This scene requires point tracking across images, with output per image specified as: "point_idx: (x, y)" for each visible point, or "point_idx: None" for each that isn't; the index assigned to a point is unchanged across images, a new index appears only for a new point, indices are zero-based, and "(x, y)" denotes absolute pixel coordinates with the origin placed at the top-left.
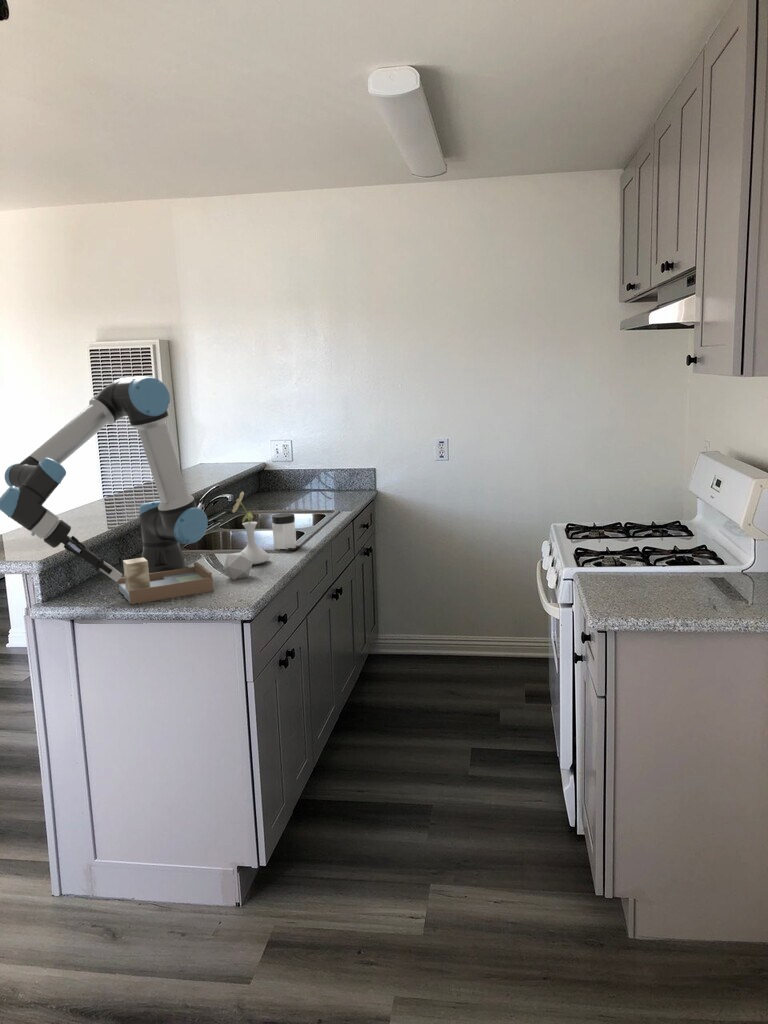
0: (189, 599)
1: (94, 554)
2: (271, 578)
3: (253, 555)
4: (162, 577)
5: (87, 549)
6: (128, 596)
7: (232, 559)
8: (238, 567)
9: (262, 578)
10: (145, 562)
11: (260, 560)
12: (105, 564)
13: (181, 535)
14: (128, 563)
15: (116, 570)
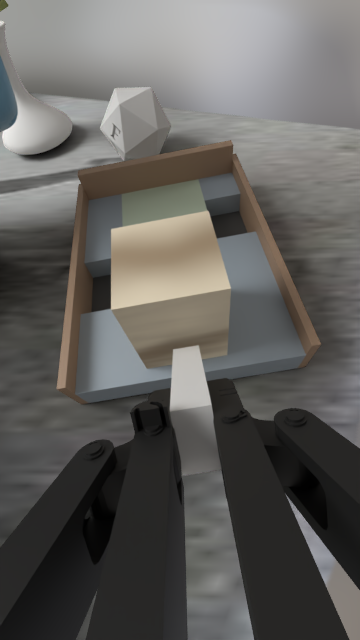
0: (298, 224)
1: (88, 491)
2: (186, 120)
3: (56, 116)
4: (85, 264)
5: (14, 608)
6: (281, 362)
7: (145, 108)
8: (164, 122)
9: (177, 129)
10: (210, 222)
11: (71, 121)
12: (212, 406)
13: (8, 87)
14: (218, 280)
15: (201, 360)
